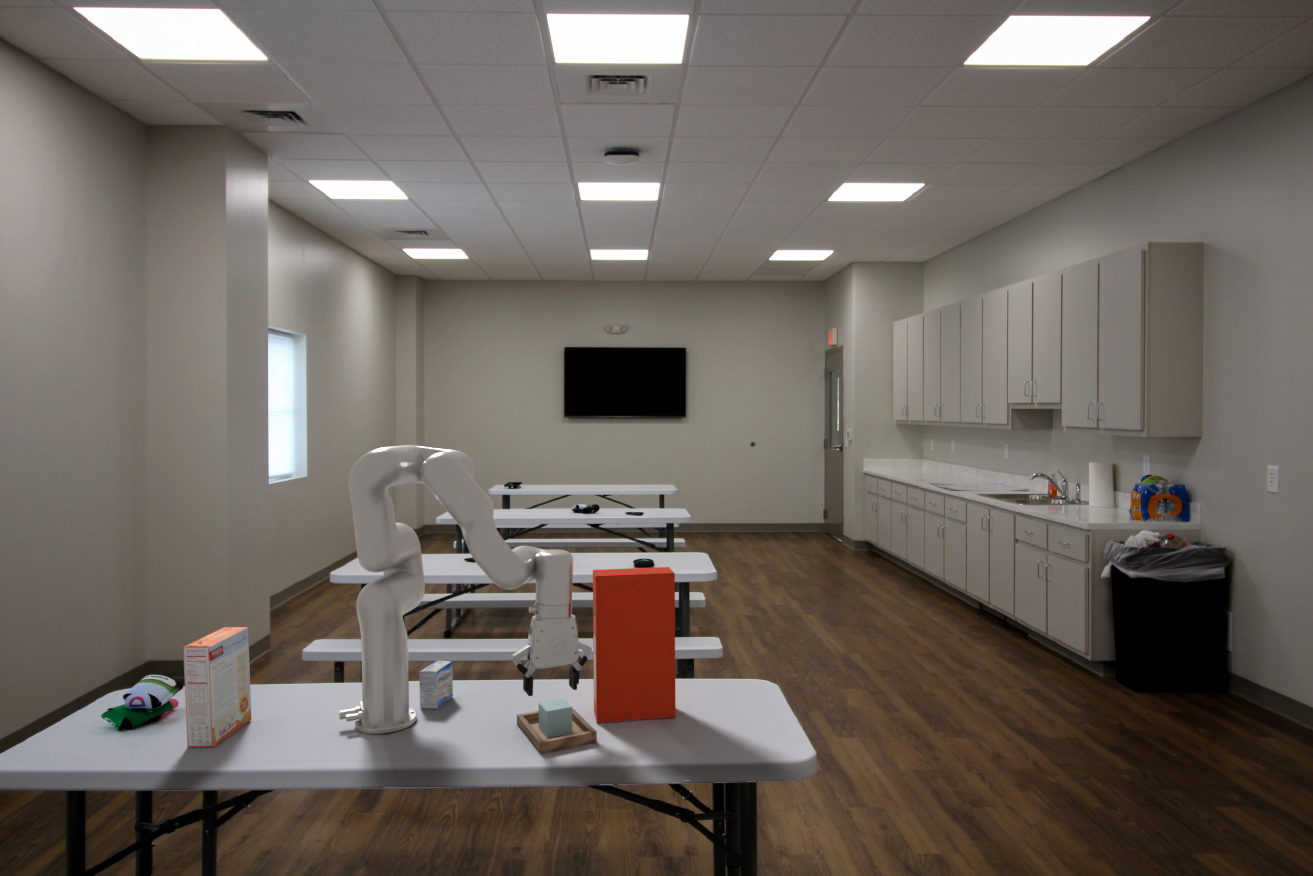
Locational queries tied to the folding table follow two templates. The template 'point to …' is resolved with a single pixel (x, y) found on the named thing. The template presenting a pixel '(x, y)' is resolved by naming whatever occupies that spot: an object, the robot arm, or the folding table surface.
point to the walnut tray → (578, 737)
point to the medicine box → (436, 684)
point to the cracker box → (217, 686)
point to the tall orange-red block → (634, 643)
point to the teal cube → (555, 717)
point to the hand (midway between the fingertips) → (551, 690)
